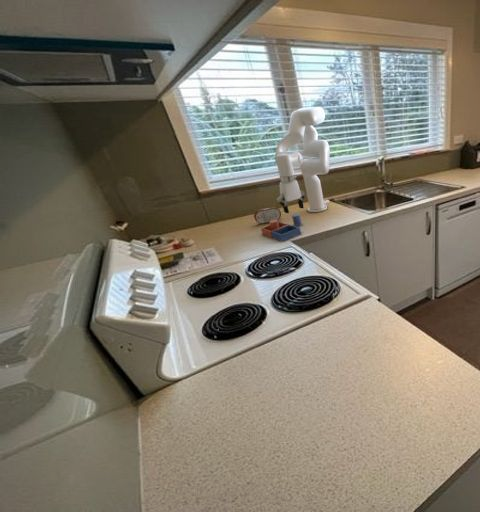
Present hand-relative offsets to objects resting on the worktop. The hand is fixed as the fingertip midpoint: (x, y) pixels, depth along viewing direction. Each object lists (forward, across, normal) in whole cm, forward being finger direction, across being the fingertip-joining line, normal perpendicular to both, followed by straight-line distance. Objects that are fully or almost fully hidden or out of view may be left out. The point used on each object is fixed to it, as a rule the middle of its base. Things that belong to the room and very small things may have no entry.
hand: (294, 210), depth 162 cm
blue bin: (+9, +12, +8) cm, 17 cm away
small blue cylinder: (+9, -1, 0) cm, 9 cm away
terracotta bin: (+9, +12, -2) cm, 15 cm away
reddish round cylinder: (+9, +12, -2) cm, 15 cm away
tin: (+9, +4, -21) cm, 24 cm away
